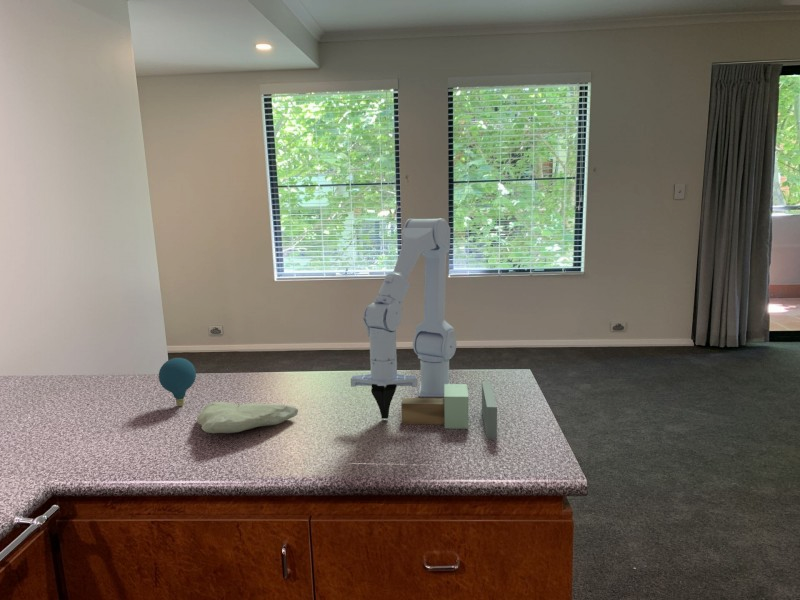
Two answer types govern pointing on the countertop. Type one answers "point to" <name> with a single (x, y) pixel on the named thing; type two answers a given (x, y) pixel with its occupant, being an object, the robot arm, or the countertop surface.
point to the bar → (423, 411)
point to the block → (456, 406)
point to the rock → (242, 416)
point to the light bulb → (177, 377)
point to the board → (489, 410)
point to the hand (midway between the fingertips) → (385, 416)
